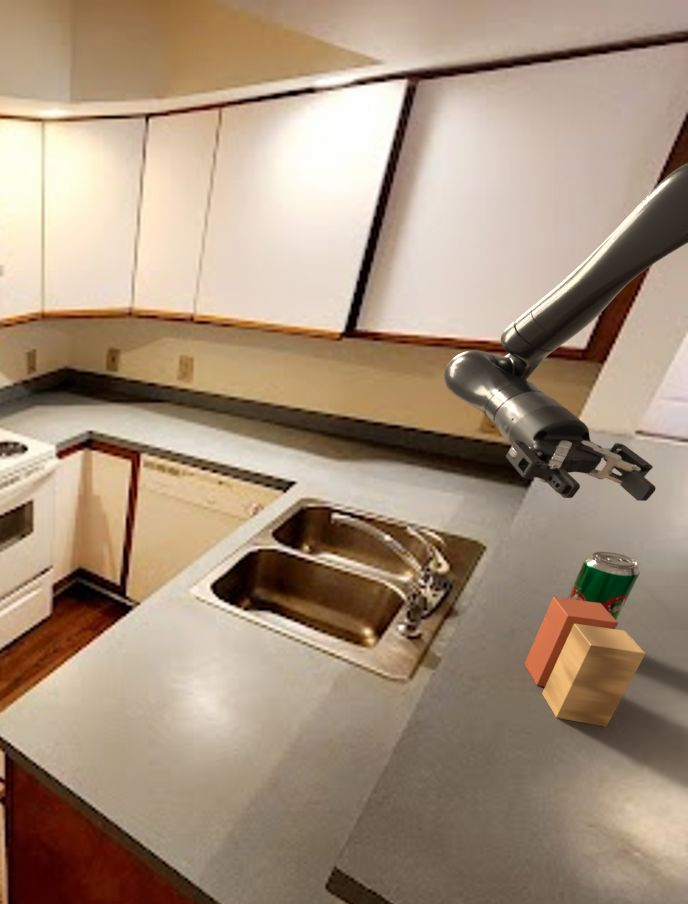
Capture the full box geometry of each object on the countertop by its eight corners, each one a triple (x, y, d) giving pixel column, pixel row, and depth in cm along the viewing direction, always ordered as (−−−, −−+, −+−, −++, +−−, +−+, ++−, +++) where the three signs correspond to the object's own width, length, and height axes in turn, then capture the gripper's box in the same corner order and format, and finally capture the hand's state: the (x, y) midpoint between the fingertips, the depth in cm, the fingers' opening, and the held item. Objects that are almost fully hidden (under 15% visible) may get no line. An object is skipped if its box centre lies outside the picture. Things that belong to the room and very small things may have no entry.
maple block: (589, 702, 72) (625, 630, 68) (606, 727, 68) (646, 653, 64) (541, 693, 74) (573, 623, 69) (556, 717, 70) (591, 645, 66)
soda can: (547, 624, 86) (581, 547, 80) (595, 632, 84) (633, 553, 78) (559, 644, 82) (595, 564, 76) (610, 653, 80) (651, 571, 74)
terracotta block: (568, 671, 77) (600, 602, 72) (583, 693, 73) (618, 622, 69) (524, 664, 78) (553, 596, 74) (536, 685, 75) (568, 615, 70)
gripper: (498, 403, 89) (566, 468, 77) (608, 405, 87) (695, 471, 75) (473, 447, 94) (532, 514, 82) (576, 450, 92) (653, 519, 80)
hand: (610, 494), depth 79 cm, fingers open, 8 cm apart
